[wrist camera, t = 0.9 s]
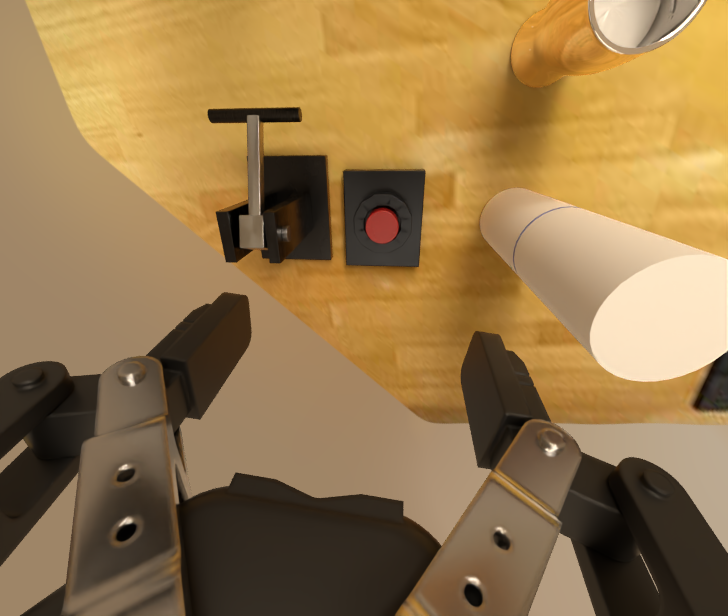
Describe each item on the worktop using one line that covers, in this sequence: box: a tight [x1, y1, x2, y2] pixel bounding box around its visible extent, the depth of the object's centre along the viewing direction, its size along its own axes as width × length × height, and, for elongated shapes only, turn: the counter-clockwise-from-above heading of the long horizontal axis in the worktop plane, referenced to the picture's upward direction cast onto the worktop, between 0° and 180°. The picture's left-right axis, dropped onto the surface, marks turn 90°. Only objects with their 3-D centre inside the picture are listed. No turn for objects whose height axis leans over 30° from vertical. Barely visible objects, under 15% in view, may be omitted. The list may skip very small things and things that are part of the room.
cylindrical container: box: [480, 188, 728, 381], centre depth 27 cm, size 7×7×25 cm
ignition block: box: [343, 169, 425, 267], centre depth 38 cm, size 11×9×4 cm
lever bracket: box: [216, 155, 333, 263], centre depth 34 cm, size 12×9×14 cm
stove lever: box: [208, 107, 302, 250], centre depth 29 cm, size 12×8×2 cm
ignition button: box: [365, 208, 399, 244], centre depth 36 cm, size 4×4×2 cm
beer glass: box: [511, 0, 707, 88], centre depth 25 cm, size 7×7×15 cm
